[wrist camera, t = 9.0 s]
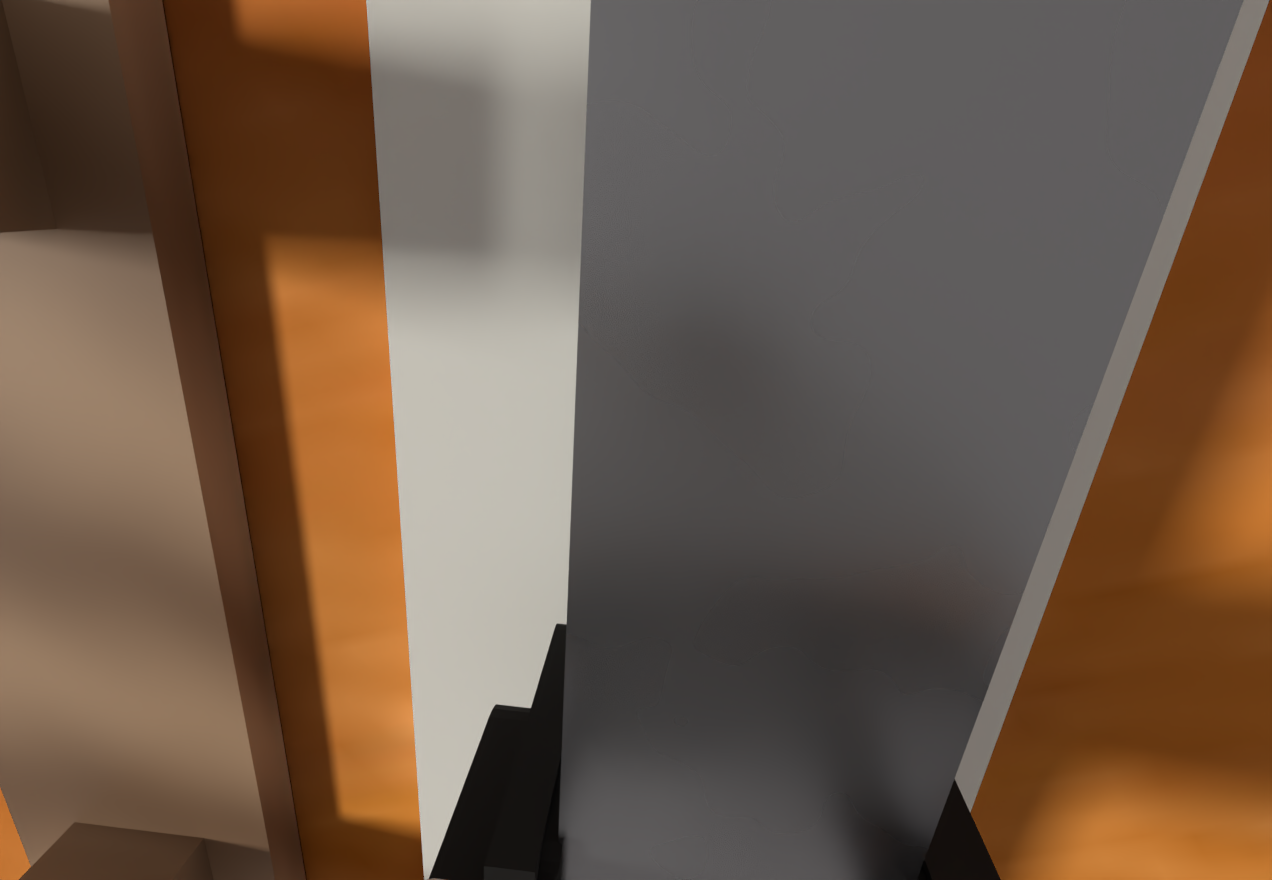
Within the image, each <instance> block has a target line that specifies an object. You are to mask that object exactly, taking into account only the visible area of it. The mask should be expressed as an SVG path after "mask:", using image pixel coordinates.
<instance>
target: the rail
mask: <svg viewBox="0 0 1272 880" xmlns="http://www.w3.org/2000/svg"><path fill="white" fill-rule="evenodd" d="M1243 1H1244V0H591V8H590V33H589V59H588V85H587V111H586V136H585V162H584V188H583V214H582V239H581V265H580V291H579V317H578V342H577V368H576V394H575V420H574V446H573V471H572V497H571V523H570V549H569V574H568V600H567V626H566V652H565V677H564V703H563V729H562V755H561V780H560V806H559V832H558V844H563V852H562V875H561V880H917V878H918V875H919V873H920V870H921V867H922V865H923V862H924V859H925V857H926V854H927V851H928V849H929V846H930V843H931V841H932V838H933V835H934V832H935V830H936V827H937V824H938V822H939V819H940V816H941V814H942V811H943V808H944V806H945V803H946V800H947V797H948V795H949V792H950V789H951V787H952V784H953V781H954V779H955V776H956V773H957V771H958V768H959V765H960V762H961V760H962V757H963V754H964V752H965V749H966V746H967V744H968V741H969V738H970V736H971V733H972V730H973V728H974V725H975V722H976V719H977V717H978V714H979V711H980V709H981V706H982V703H983V701H984V698H985V695H986V693H987V690H988V687H989V684H990V682H991V679H992V676H993V674H994V671H995V668H996V666H997V663H998V660H999V658H1000V655H1001V652H1002V649H1003V647H1004V644H1005V641H1006V639H1007V636H1008V633H1009V631H1010V628H1011V625H1012V623H1013V620H1014V617H1015V615H1016V612H1017V609H1018V606H1019V604H1020V601H1021V598H1022V596H1023V593H1024V590H1025V588H1026V585H1027V582H1028V580H1029V577H1030V574H1031V571H1032V569H1033V566H1034V563H1035V561H1036V558H1037V555H1038V553H1039V550H1040V547H1041V545H1042V542H1043V539H1044V537H1045V534H1046V531H1047V528H1048V526H1049V523H1050V520H1051V518H1052V515H1053V512H1054V510H1055V507H1056V504H1057V502H1058V499H1059V496H1060V493H1061V491H1062V488H1063V485H1064V483H1065V480H1066V477H1067V475H1068V472H1069V469H1070V467H1071V464H1072V461H1073V458H1074V456H1075V453H1076V450H1077V448H1078V445H1079V442H1080V440H1081V437H1082V434H1083V432H1084V429H1085V426H1086V424H1087V421H1088V418H1089V415H1090V413H1091V410H1092V407H1093V405H1094V402H1095V399H1096V397H1097V394H1098V391H1099V389H1100V386H1101V383H1102V380H1103V378H1104V375H1105V372H1106V370H1107V367H1108V364H1109V362H1110V359H1111V356H1112V354H1113V351H1114V348H1115V345H1116V343H1117V340H1118V337H1119V335H1120V332H1121V329H1122V327H1123V324H1124V321H1125V319H1126V316H1127V313H1128V311H1129V308H1130V305H1131V302H1132V300H1133V297H1134V294H1135V292H1136V289H1137V286H1138V284H1139V281H1140V278H1141V276H1142V273H1143V270H1144V267H1145V265H1146V262H1147V259H1148V257H1149V254H1150V251H1151V249H1152V246H1153V243H1154V241H1155V238H1156V235H1157V232H1158V230H1159V227H1160V224H1161V222H1162V219H1163V216H1164V214H1165V211H1166V208H1167V206H1168V203H1169V200H1170V198H1171V195H1172V192H1173V189H1174V187H1175V184H1176V181H1177V179H1178V176H1179V173H1180V171H1181V168H1182V165H1183V163H1184V160H1185V157H1186V154H1187V152H1188V149H1189V146H1190V144H1191V141H1192V138H1193V136H1194V133H1195V130H1196V128H1197V125H1198V122H1199V119H1200V117H1201V114H1202V111H1203V109H1204V106H1205V103H1206V101H1207V98H1208V95H1209V93H1210V90H1211V87H1212V85H1213V82H1214V79H1215V76H1216V74H1217V71H1218V68H1219V66H1220V63H1221V60H1222V58H1223V55H1224V52H1225V50H1226V47H1227V44H1228V41H1229V39H1230V36H1231V33H1232V31H1233V28H1234V25H1235V23H1236V20H1237V17H1238V15H1239V12H1240V9H1241V6H1242V4H1243Z"/></svg>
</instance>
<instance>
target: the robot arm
mask: <svg viewBox="0 0 1272 880" xmlns="http://www.w3.org/2000/svg"><path fill="white" fill-rule="evenodd" d="M566 626H567V624H558V623H557V624H556V626H555V629H554V632H553V636H552V639H551V642H550V646H549V649H548V652H547V656H546V659H545V662H544V666H543V669H542V672H541V676H540V679H539V682H538V686H537V689H536V693H535V696H534V699H533V703H532V706H531V708H524V707H515V706H507V705H498V704H496V705H495V706H494V708H493V709H492V711H491V714H490V716H489V718H488V721H487V724H486V726H485V729H484V732H483V734H482V737H481V740H480V742H479V745H478V748H477V751H476V753H475V756H474V759H473V761H472V764H471V767H470V769H469V772H468V775H467V777H466V780H465V783H464V785H463V788H462V791H461V793H460V796H459V799H458V802H457V804H456V807H455V810H454V812H453V815H452V818H451V820H450V823H449V826H448V828H447V831H446V834H445V836H444V839H443V842H442V844H441V847H440V850H439V852H438V855H437V858H436V861H435V863H434V866H433V869H432V871H431V874H430V877H429V879H427V880H561V875H562V852H563V844H558V832H559V806H560V780H561V755H562V729H563V703H564V677H565V652H566ZM917 880H1000V877H999V875H998V873H997V871H996V869H995V866H994V864H993V862H992V860H991V858H990V855H989V853H988V851H987V849H986V847H985V844H984V842H983V840H982V838H981V836H980V833H979V831H978V829H977V827H976V825H975V822H974V820H973V818H972V816H971V814H970V811H969V809H968V807H967V805H966V803H965V800H964V798H963V796H962V794H961V792H960V789H959V787H958V785H957V783H956V781H955V779H954V781H953V784H952V787H951V789H950V792H949V795H948V797H947V800H946V803H945V806H944V808H943V811H942V814H941V816H940V819H939V822H938V824H937V827H936V830H935V832H934V835H933V838H932V841H931V843H930V846H929V849H928V851H927V854H926V857H925V859H924V862H923V865H922V867H921V870H920V873H919V875H918V878H917Z"/></svg>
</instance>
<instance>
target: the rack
mask: <svg viewBox="0 0 1272 880" xmlns="http://www.w3.org/2000/svg"><path fill="white" fill-rule="evenodd" d="M0 788H1V790H2V793H3V795H4V798H5V800H6V803H7V806H8V808H9V811H10V813H11V816H12V818H13V821H14V824H15V826H16V829H17V831H18V834H19V836H20V839H21V842H22V844H23V847H24V849H25V852H26V854H27V857H28V860H29V862H30V865H31V868H30V869H29V870H28V871H27V872H26V873H25V874H24V875H23V876H22V877H21V878H20V879H19V880H306V876H305V870H304V864H303V858H302V852H301V846H300V839H299V833H298V827H297V821H296V815H295V809H294V803H293V797H292V791H291V784H290V778H289V772H288V766H287V760H286V754H285V748H284V742H283V736H282V730H281V723H280V717H279V711H278V705H277V699H276V693H275V687H274V681H273V675H272V668H271V662H270V656H269V650H268V644H267V638H266V632H265V626H264V620H263V614H262V607H261V601H260V595H259V589H258V583H257V577H256V571H255V565H254V559H253V552H252V546H251V540H250V534H249V528H248V522H247V516H246V510H245V504H244V497H243V491H242V485H241V479H240V473H239V467H238V461H237V455H236V449H235V443H234V436H233V430H232V424H231V418H230V412H229V406H228V400H227V394H226V388H225V381H224V375H223V369H222V363H221V357H220V351H219V345H218V339H217V333H216V327H215V320H214V314H213V308H212V302H211V296H210V290H209V284H208V278H207V272H206V265H205V259H204V253H203V247H202V241H201V235H200V229H199V223H198V217H197V211H196V204H195V198H194V192H193V186H192V180H191V174H190V168H189V162H188V156H187V149H186V143H185V137H184V131H183V125H182V119H181V113H180V107H179V101H178V94H177V88H176V82H175V76H174V70H173V64H172V58H171V52H170V46H169V40H168V33H167V27H166V21H165V15H164V9H163V3H162V0H0Z"/></svg>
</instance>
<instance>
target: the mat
mask: <svg viewBox="0 0 1272 880" xmlns="http://www.w3.org/2000/svg"><path fill="white" fill-rule="evenodd" d="M366 3H367V18H368V33H369V49H370V64H371V79H372V94H373V109H374V125H375V140H376V155H377V170H378V186H379V201H380V216H381V231H382V247H383V262H384V277H385V292H386V307H387V323H388V338H389V353H390V368H391V384H392V399H393V414H394V429H395V445H396V460H397V475H398V490H399V506H400V521H401V536H402V551H403V566H404V582H405V597H406V612H407V627H408V643H409V658H410V673H411V688H412V704H413V719H414V734H415V749H416V764H417V780H418V795H419V810H420V825H421V841H422V856H423V871H424V880H427V879H429V877H430V874H431V871H432V869H433V866H434V863H435V861H436V858H437V855H438V852H439V850H440V847H441V844H442V842H443V839H444V836H445V834H446V831H447V828H448V826H449V823H450V820H451V818H452V815H453V812H454V810H455V807H456V804H457V802H458V799H459V796H460V793H461V791H462V788H463V785H464V783H465V780H466V777H467V775H468V772H469V769H470V767H471V764H472V761H473V759H474V756H475V753H476V751H477V748H478V745H479V742H480V740H481V737H482V734H483V732H484V729H485V726H486V724H487V721H488V718H489V716H490V714H491V711H492V709H493V708H494V706H495V705H496V704H498V705H507V706H515V707H524V708H531V706H532V703H533V699H534V696H535V693H536V689H537V686H538V682H539V679H540V676H541V672H542V669H543V666H544V662H545V659H546V656H547V652H548V649H549V646H550V642H551V639H552V636H553V632H554V629H555V626H556V624H557V623H558V624H567V600H568V574H569V549H570V523H571V497H572V471H573V446H574V420H575V394H576V368H577V342H578V317H579V291H580V265H581V239H582V214H583V188H584V162H585V136H586V111H587V85H588V59H589V33H590V8H591V0H366ZM1268 3H1269V0H1244V1H1243V4H1242V6H1241V9H1240V12H1239V15H1238V17H1237V20H1236V23H1235V25H1234V28H1233V31H1232V33H1231V36H1230V39H1229V41H1228V44H1227V47H1226V50H1225V52H1224V55H1223V58H1222V60H1221V63H1220V66H1219V68H1218V71H1217V74H1216V76H1215V79H1214V82H1213V85H1212V87H1211V90H1210V93H1209V95H1208V98H1207V101H1206V103H1205V106H1204V109H1203V111H1202V114H1201V117H1200V119H1199V122H1198V125H1197V128H1196V130H1195V133H1194V136H1193V138H1192V141H1191V144H1190V146H1189V149H1188V152H1187V154H1186V157H1185V160H1184V163H1183V165H1182V168H1181V171H1180V173H1179V176H1178V179H1177V181H1176V184H1175V187H1174V189H1173V192H1172V195H1171V198H1170V200H1169V203H1168V206H1167V208H1166V211H1165V214H1164V216H1163V219H1162V222H1161V224H1160V227H1159V230H1158V232H1157V235H1156V238H1155V241H1154V243H1153V246H1152V249H1151V251H1150V254H1149V257H1148V259H1147V262H1146V265H1145V267H1144V270H1143V273H1142V276H1141V278H1140V281H1139V284H1138V286H1137V289H1136V292H1135V294H1134V297H1133V300H1132V302H1131V305H1130V308H1129V311H1128V313H1127V316H1126V319H1125V321H1124V324H1123V327H1122V329H1121V332H1120V335H1119V337H1118V340H1117V343H1116V345H1115V348H1114V351H1113V354H1112V356H1111V359H1110V362H1109V364H1108V367H1107V370H1106V372H1105V375H1104V378H1103V380H1102V383H1101V386H1100V389H1099V391H1098V394H1097V397H1096V399H1095V402H1094V405H1093V407H1092V410H1091V413H1090V415H1089V418H1088V421H1087V424H1086V426H1085V429H1084V432H1083V434H1082V437H1081V440H1080V442H1079V445H1078V448H1077V450H1076V453H1075V456H1074V458H1073V461H1072V464H1071V467H1070V469H1069V472H1068V475H1067V477H1066V480H1065V483H1064V485H1063V488H1062V491H1061V493H1060V496H1059V499H1058V502H1057V504H1056V507H1055V510H1054V512H1053V515H1052V518H1051V520H1050V523H1049V526H1048V528H1047V531H1046V534H1045V537H1044V539H1043V542H1042V545H1041V547H1040V550H1039V553H1038V555H1037V558H1036V561H1035V563H1034V566H1033V569H1032V571H1031V574H1030V577H1029V580H1028V582H1027V585H1026V588H1025V590H1024V593H1023V596H1022V598H1021V601H1020V604H1019V606H1018V609H1017V612H1016V615H1015V617H1014V620H1013V623H1012V625H1011V628H1010V631H1009V633H1008V636H1007V639H1006V641H1005V644H1004V647H1003V649H1002V652H1001V655H1000V658H999V660H998V663H997V666H996V668H995V671H994V674H993V676H992V679H991V682H990V684H989V687H988V690H987V693H986V695H985V698H984V701H983V703H982V706H981V709H980V711H979V714H978V717H977V719H976V722H975V725H974V728H973V730H972V733H971V736H970V738H969V741H968V744H967V746H966V749H965V752H964V754H963V757H962V760H961V762H960V765H959V768H958V771H957V773H956V776H955V781H956V783H957V785H958V787H959V789H960V792H961V794H962V796H963V798H964V800H965V803H966V805H967V807H968V809H969V811H970V812H971V809H972V807H973V804H974V801H975V799H976V796H977V793H978V790H979V788H980V785H981V782H982V780H983V777H984V774H985V771H986V769H987V766H988V763H989V760H990V758H991V755H992V752H993V750H994V747H995V744H996V741H997V739H998V736H999V733H1000V731H1001V728H1002V725H1003V722H1004V720H1005V717H1006V714H1007V712H1008V709H1009V706H1010V703H1011V701H1012V698H1013V695H1014V693H1015V690H1016V687H1017V684H1018V682H1019V679H1020V676H1021V674H1022V671H1023V668H1024V665H1025V663H1026V660H1027V657H1028V655H1029V652H1030V649H1031V646H1032V644H1033V641H1034V638H1035V636H1036V633H1037V630H1038V627H1039V625H1040V622H1041V619H1042V617H1043V614H1044V611H1045V608H1046V606H1047V603H1048V600H1049V598H1050V595H1051V592H1052V589H1053V587H1054V584H1055V581H1056V578H1057V576H1058V573H1059V570H1060V568H1061V565H1062V562H1063V559H1064V557H1065V554H1066V551H1067V549H1068V546H1069V543H1070V540H1071V538H1072V535H1073V532H1074V530H1075V527H1076V524H1077V521H1078V519H1079V516H1080V513H1081V511H1082V508H1083V505H1084V502H1085V500H1086V497H1087V494H1088V492H1089V489H1090V486H1091V483H1092V481H1093V478H1094V475H1095V473H1096V470H1097V467H1098V464H1099V462H1100V459H1101V456H1102V454H1103V451H1104V448H1105V445H1106V443H1107V440H1108V437H1109V435H1110V432H1111V429H1112V426H1113V424H1114V421H1115V418H1116V416H1117V413H1118V410H1119V407H1120V405H1121V402H1122V399H1123V396H1124V394H1125V391H1126V388H1127V386H1128V383H1129V380H1130V377H1131V375H1132V372H1133V369H1134V367H1135V364H1136V361H1137V358H1138V356H1139V353H1140V350H1141V348H1142V345H1143V342H1144V339H1145V337H1146V334H1147V331H1148V329H1149V326H1150V323H1151V320H1152V318H1153V315H1154V312H1155V310H1156V307H1157V304H1158V301H1159V299H1160V296H1161V293H1162V291H1163V288H1164V285H1165V282H1166V280H1167V277H1168V274H1169V272H1170V269H1171V266H1172V263H1173V261H1174V258H1175V255H1176V253H1177V250H1178V247H1179V244H1180V242H1181V239H1182V236H1183V234H1184V231H1185V228H1186V225H1187V223H1188V220H1189V217H1190V214H1191V212H1192V209H1193V206H1194V204H1195V201H1196V198H1197V195H1198V193H1199V190H1200V187H1201V185H1202V182H1203V179H1204V176H1205V174H1206V171H1207V168H1208V166H1209V163H1210V160H1211V157H1212V155H1213V152H1214V149H1215V147H1216V144H1217V141H1218V138H1219V136H1220V133H1221V130H1222V128H1223V125H1224V122H1225V119H1226V117H1227V114H1228V111H1229V109H1230V106H1231V103H1232V100H1233V98H1234V95H1235V92H1236V90H1237V87H1238V84H1239V81H1240V79H1241V76H1242V73H1243V71H1244V68H1245V65H1246V62H1247V60H1248V57H1249V54H1250V52H1251V49H1252V46H1253V43H1254V41H1255V38H1256V35H1257V33H1258V30H1259V27H1260V24H1261V22H1262V19H1263V16H1264V13H1265V11H1266V8H1267V5H1268Z"/></svg>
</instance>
